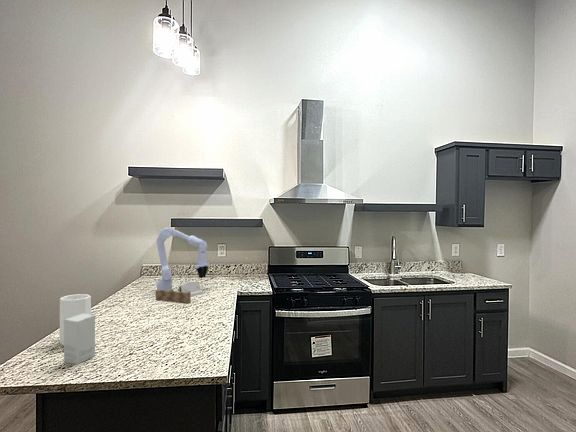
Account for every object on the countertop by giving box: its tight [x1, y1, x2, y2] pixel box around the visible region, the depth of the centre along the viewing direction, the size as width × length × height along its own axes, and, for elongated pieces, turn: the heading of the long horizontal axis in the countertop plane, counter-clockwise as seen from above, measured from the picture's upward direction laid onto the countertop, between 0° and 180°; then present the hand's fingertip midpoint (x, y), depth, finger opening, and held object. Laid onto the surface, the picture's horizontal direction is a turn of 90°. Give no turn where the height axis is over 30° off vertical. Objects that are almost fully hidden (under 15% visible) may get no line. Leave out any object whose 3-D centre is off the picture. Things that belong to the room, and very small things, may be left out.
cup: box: [59, 293, 92, 347], centre depth 150 cm, size 11×11×18 cm
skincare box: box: [63, 313, 96, 365], centre depth 131 cm, size 8×7×16 cm
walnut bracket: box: [155, 289, 192, 304], centre depth 223 cm, size 24×9×6 cm, turn 70°
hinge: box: [178, 281, 204, 298], centre depth 237 cm, size 17×5×10 cm, turn 148°
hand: (202, 277), depth 250 cm, fingers open, 3 cm apart
